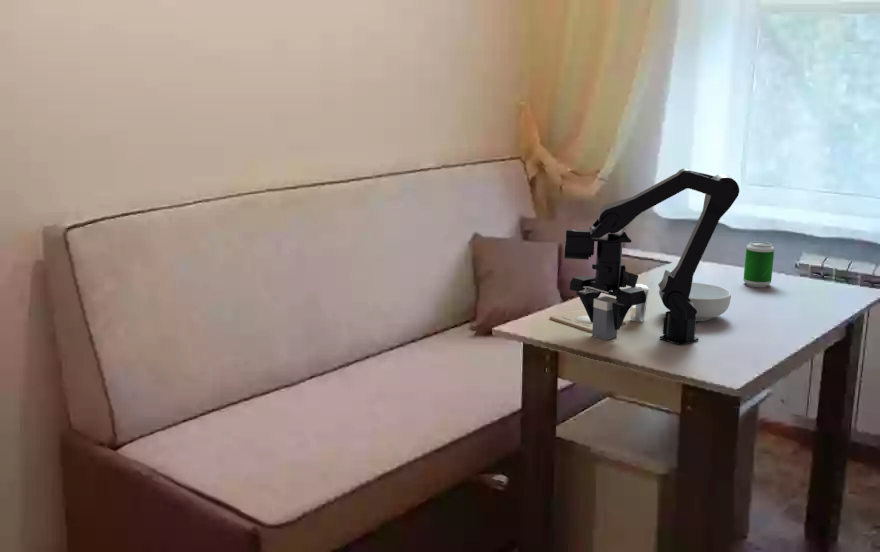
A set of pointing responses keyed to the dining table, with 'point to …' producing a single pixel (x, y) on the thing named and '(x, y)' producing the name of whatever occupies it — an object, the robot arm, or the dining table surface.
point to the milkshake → (639, 306)
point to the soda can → (758, 264)
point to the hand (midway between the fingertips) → (605, 326)
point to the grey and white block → (603, 318)
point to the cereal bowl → (709, 300)
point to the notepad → (576, 319)
